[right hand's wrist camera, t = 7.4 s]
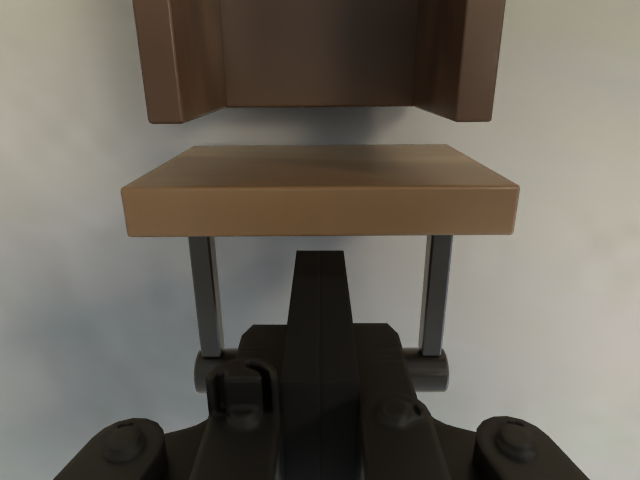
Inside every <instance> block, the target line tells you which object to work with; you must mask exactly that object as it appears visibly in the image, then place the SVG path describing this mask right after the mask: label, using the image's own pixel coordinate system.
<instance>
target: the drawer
mask: <svg viewBox="0 0 640 480" xmlns="http://www.w3.org/2000/svg"><path fill="white" fill-rule="evenodd" d="M132 1H133V9H134V16H135V24H136V31H137V39H138V46H139V54H140V61H141V68H142V76H143V83H144V91H145V98H146V106H147V113H148V120H149V122H150V123H152V124H182V123H185V122H187V121H190V120H193V119H196V118H198V117H201V116H204V115H207V114H209V113H212V112H215V111H217V110H220V109H223V108H243V107H384V106H414V107H417V108H420V109H422V110H425V111H428V112H431V113H434V114H436V115H439V116H442V117H445V118H447V119H450V120H453V121H456V122H489V121H491V118H492V109H493V101H494V93H495V84H496V76H497V68H498V59H499V51H500V43H501V34H502V26H503V18H504V9H505V1H506V0H132ZM519 191H520V187H519V185H517V184H515V183H514V182H512V181H510V180H508V179H506V178H505V177H503V176H501V175H499V174H498V173H496V172H494V171H492V170H491V169H489V168H487V167H485V166H484V165H482V164H480V163H478V162H477V161H475V160H473V159H471V158H470V157H468V156H466V155H464V154H463V153H461V152H459V151H457V150H456V149H454V148H452V147H450V146H448V145H446V144H440V145H291V146H194V147H192V148H190V149H188V150H187V151H185V152H183V153H181V154H180V155H178V156H176V157H174V158H173V159H171V160H169V161H168V162H166V163H164V164H162V165H161V166H159V167H157V168H155V169H154V170H152V171H150V172H149V173H147V174H145V175H143V176H142V177H140V178H138V179H136V180H135V181H133V182H131V183H129V184H128V185H126V186H124V187H123V188H121V197H122V203H123V209H124V215H125V221H126V227H127V233H128V236H130V237H188V239H189V248H190V257H191V266H192V275H193V283H194V292H195V301H196V310H197V318H198V327H199V336H200V345H201V350H200V351H199V352H198V355H197V358H196V362H195V368H194V383H195V388H196V390H197V392H199V393H207V390H206V381H205V378H206V377H207V376H208V374H209V373H210V371H211V370H212V369H214V368H215V367H216V366H218V365H219V364H221V363H223V362H226V361H229V360H232V359H235V358H236V354H237V351H238V349H223V348H224V338H223V328H222V317H221V306H220V295H219V285H218V274H217V263H216V252H215V242H214V236H382V235H427V244H426V257H425V269H424V282H423V294H422V307H421V320H420V332H419V348H402V349H403V352H404V355H405V360H406V362H407V366H408V369H409V372H410V376H411V379H412V382H413V386H414V389H415V392H444V391H446V390H447V387H448V383H449V367H448V361H447V357H446V354H445V351H444V350H443V349H442V340H443V330H444V320H445V310H446V300H447V290H448V280H449V270H450V260H451V250H452V241H453V235H511V234H513V231H514V225H515V218H516V211H517V204H518V198H519Z"/></svg>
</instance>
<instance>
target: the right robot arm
mask: <svg viewBox="0 0 640 480" xmlns="http://www.w3.org/2000/svg"><path fill="white" fill-rule="evenodd" d="M205 381H206V390H207V399H208V409H209V417H208V419H207V420H205V421H203V422H202V423H200V424H198V425H196V426H192V427H189V428H186V429H183V430H179V431H175V432H170V433H166V434H164V431H163V429H162V428H161V427H160V426H159V424H158V423H157V422H154V421H152V420H149V419H145V418H132V419H127V420H123V421H119V422H116V423H114V424H112V425H110V426H108V427H106V428H104V429H103V430H101V431H100V432H99V433H98V434H97V435H95V436H94V437H93V438H92V439H91V440H90V441H89V442H88V443H87V444H86V445H85V446H84V447H83V448H82V449H81V450H80V451H79V453H78V454H77V455H76V456H75V457H74V458H73V459H72V460H71V461H70V462H69V463H68V464H67V465H66V466H65V467H64V469H63V470H62V471H61V472H60V473H59V474H58V475H57V476H56V477H55V478H54V479H53V480H589V479H588V477H587V476H586V475H585V474H584V473H583V472H582V471H581V470H580V469H579V468H578V467H577V466H576V465H575V464H574V463H573V462H572V461H571V459H570V458H569V457H568V456H567V455H566V454H565V453H564V452H563V451H562V450H561V449H560V448H559V447H558V446H557V445H556V444H555V443H554V441H553V440H552V439H551V438H550V437H549V436H548V435H546V434H545V433H544V432H543V431H541V430H540V429H539V428H538V427H536V426H534V425H532V424H530V423H528V422H526V421H524V420H521V419H517V418H513V417H508V416H499V417H492V418H489V419H487V420H484V421H483V422H482V423H481V424H480V425H479V427H478V428H477V432H473V431H469V430H465V429H461V428H457V427H453V426H450V425H447V424H444V423H442V422H440V421H438V420H436V419H434V418H433V417H432V416H431V414H430V412H429V411H428V409H427V407H426V406H425V405H424V404H423V403H422V402H420V401H419V400H418V399H417V396H416V393H415V389H414V386H413V382H412V379H411V376H410V372H409V369H408V366H407V362H406V360H405V355H404V352H403V349H402V345H401V342H400V338H399V335H398V333H397V332H396V331H395V330H394V329H392V328H391V327H390V326H389V325H388V324H387V323H353V321H352V313H351V305H350V298H349V290H348V282H347V274H346V267H345V259H344V251H297V252H296V260H295V268H294V276H293V283H292V291H291V299H290V306H289V314H288V322H287V325H252V326H251V327H250V328H249V329H248V330H247V331H246V332H245V333H244V334H243V335H242V337H241V341H240V344H239V347H238V351H237V354H236V358H235V359H232V360H229V361H226V362H223V363H221V364H219V365H218V366H216V367H215V368H214V369H212V370H211V371H210V373H209V374H208V376H207V377H206V378H205Z"/></svg>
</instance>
